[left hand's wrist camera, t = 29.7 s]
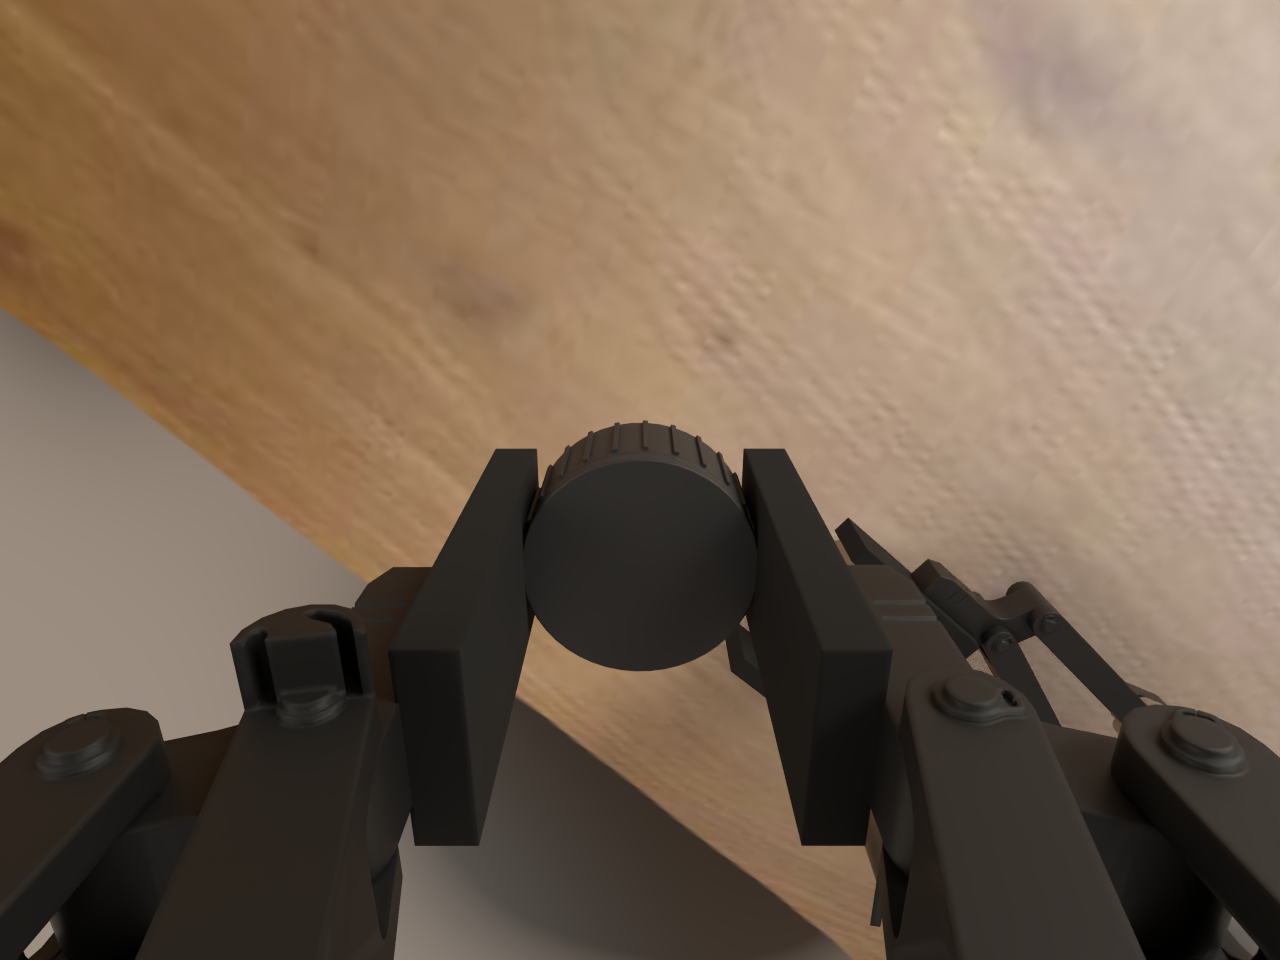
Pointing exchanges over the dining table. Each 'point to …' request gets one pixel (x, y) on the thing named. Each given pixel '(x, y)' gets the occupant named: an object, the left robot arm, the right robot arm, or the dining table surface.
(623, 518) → the cap
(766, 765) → the dining table surface
